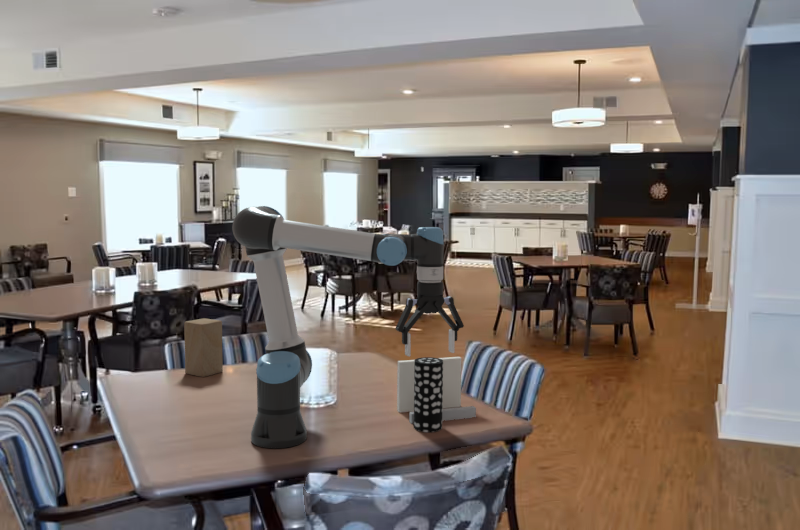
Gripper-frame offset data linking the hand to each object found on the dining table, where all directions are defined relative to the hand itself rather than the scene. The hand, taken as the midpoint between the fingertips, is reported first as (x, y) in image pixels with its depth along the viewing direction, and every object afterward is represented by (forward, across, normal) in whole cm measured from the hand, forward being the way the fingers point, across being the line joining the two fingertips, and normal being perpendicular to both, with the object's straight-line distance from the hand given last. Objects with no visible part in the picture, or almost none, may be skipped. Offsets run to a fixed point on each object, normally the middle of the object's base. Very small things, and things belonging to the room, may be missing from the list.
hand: (429, 353), depth 198 cm
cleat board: (+22, +7, +11) cm, 26 cm away
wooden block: (+21, -59, +84) cm, 105 cm away
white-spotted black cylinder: (+22, 0, 0) cm, 22 cm away
